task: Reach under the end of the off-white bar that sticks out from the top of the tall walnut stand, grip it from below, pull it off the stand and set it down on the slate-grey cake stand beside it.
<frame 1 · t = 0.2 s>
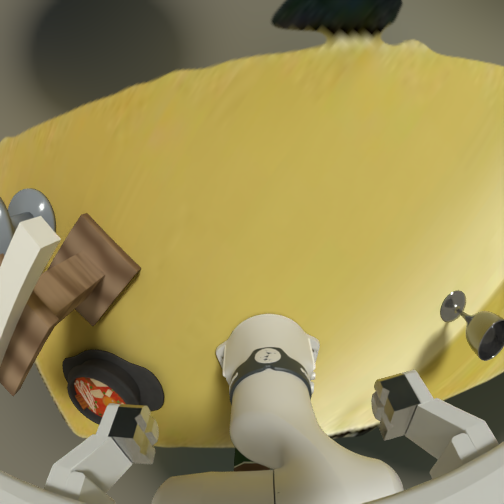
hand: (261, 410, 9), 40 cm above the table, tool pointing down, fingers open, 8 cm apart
beer bottle: (252, 434, 60), on the table
cake stand: (31, 223, 48), on the table
bar: (10, 309, 24), point 26 cm above the table, touching walnut stand
casserole: (113, 379, 57), on the table
walnut stand: (90, 270, 50), on the table
wine glass: (453, 306, 52), on the table
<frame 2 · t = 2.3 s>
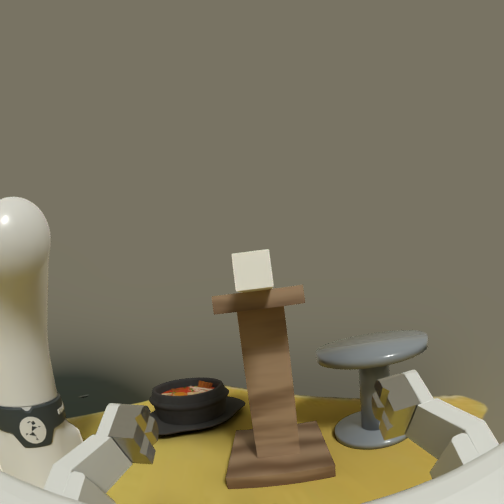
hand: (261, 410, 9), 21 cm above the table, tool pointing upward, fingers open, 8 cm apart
cake stand: (375, 428, 41), on the table
bar: (257, 291, 36), point 26 cm above the table, touching walnut stand
casserole: (193, 422, 57), on the table
walnut stand: (279, 457, 38), on the table
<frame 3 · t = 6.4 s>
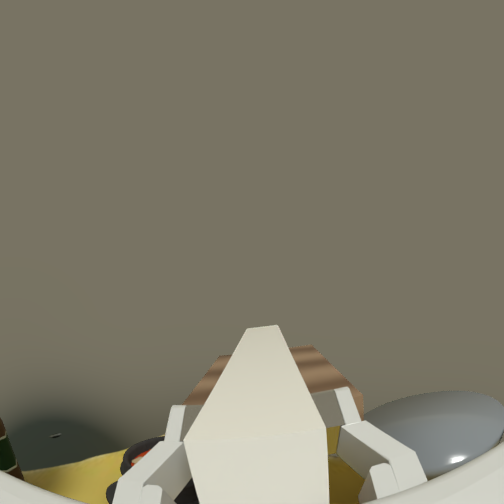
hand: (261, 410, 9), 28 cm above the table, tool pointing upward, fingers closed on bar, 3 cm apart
beer bottle: (10, 484, 27), on the table
bar: (266, 393, 17), point 26 cm above the table, touching gripper, walnut stand
casserole: (178, 491, 37), on the table
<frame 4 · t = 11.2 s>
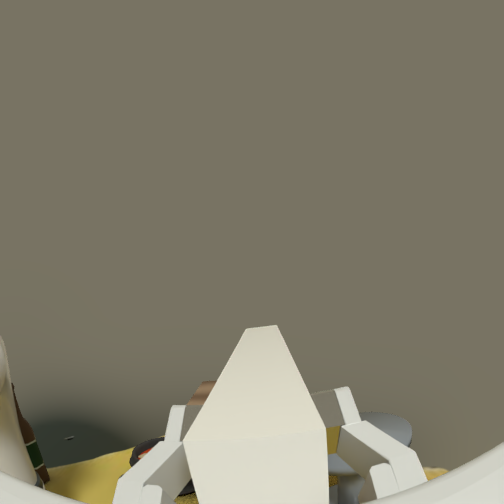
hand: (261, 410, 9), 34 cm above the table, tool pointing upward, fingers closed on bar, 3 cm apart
beer bottle: (36, 479, 38), on the table
bar: (265, 394, 17), point 32 cm above the table, touching gripper
casserole: (174, 480, 49), on the table
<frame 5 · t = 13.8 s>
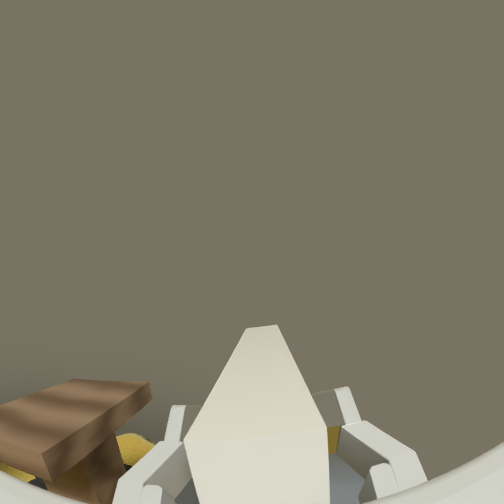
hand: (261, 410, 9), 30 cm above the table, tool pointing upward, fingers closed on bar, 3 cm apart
bar: (266, 393, 17), point 28 cm above the table, touching gripper
when the fingers open (19 cm above the table, at t = 15.9 s): bar drops 1 cm, resting on cake stand.
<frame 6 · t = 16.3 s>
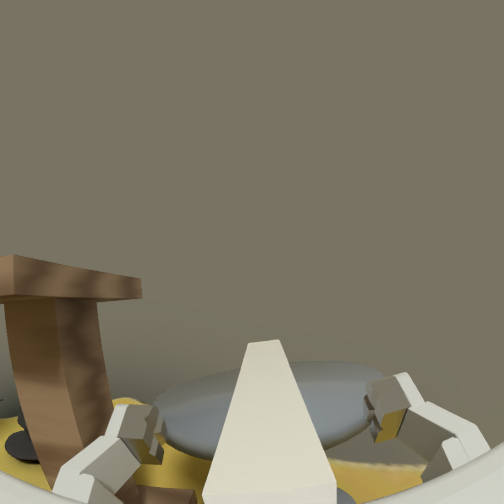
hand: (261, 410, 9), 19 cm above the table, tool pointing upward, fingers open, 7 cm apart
bar: (270, 415, 16), point 15 cm above the table, touching cake stand
casserole: (72, 448, 35), on the table
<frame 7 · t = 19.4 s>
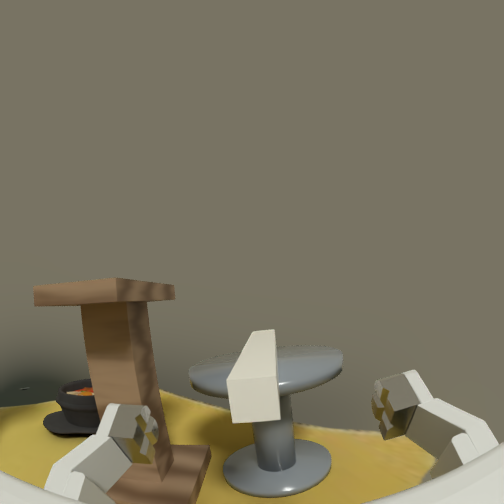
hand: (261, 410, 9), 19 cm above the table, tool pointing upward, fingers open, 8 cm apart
cake stand: (277, 467, 32), on the table
bar: (263, 373, 29), point 15 cm above the table, touching cake stand
casserole: (102, 425, 47), on the table
walnut stand: (150, 480, 29), on the table
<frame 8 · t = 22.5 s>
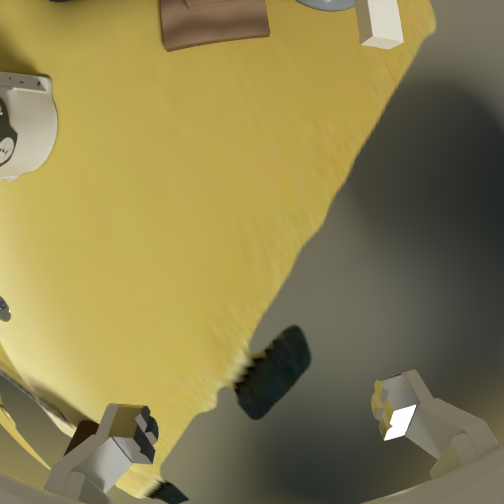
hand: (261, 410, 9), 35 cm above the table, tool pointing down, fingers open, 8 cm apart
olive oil: (94, 430, 63), on the table
wine glass: (0, 307, 48), on the table
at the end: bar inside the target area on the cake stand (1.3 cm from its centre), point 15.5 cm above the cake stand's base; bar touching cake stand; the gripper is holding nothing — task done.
